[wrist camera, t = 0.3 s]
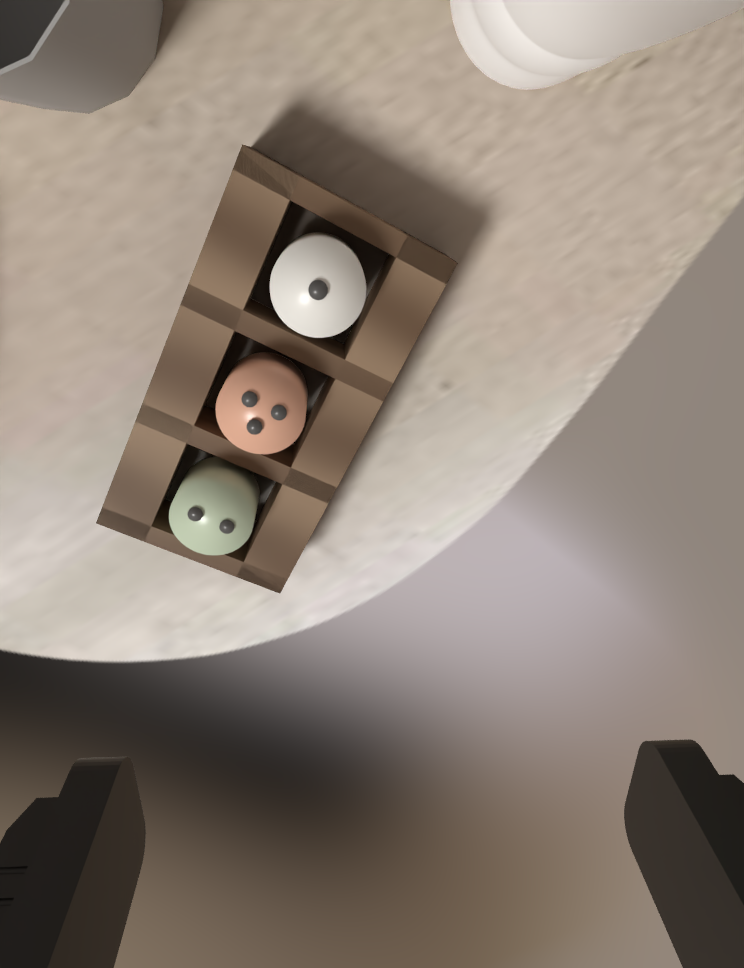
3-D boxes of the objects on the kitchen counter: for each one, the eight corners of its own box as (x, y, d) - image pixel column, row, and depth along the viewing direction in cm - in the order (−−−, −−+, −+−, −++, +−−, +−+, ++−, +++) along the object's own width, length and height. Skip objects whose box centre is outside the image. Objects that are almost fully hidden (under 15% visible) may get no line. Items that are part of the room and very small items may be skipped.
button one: (297, 215, 29) (293, 220, 26) (378, 258, 30) (383, 268, 27) (261, 299, 30) (254, 312, 28) (339, 337, 31) (340, 354, 28)
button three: (244, 337, 31) (235, 354, 28) (321, 374, 32) (320, 394, 29) (212, 410, 32) (201, 433, 30) (287, 443, 33) (283, 468, 31)
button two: (198, 444, 33) (185, 470, 30) (271, 475, 34) (266, 503, 31) (170, 508, 35) (156, 538, 32) (242, 536, 36) (234, 568, 33)
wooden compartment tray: (250, 147, 29) (242, 144, 26) (446, 255, 31) (457, 263, 29) (113, 496, 36) (96, 523, 33) (283, 563, 38) (279, 593, 36)
